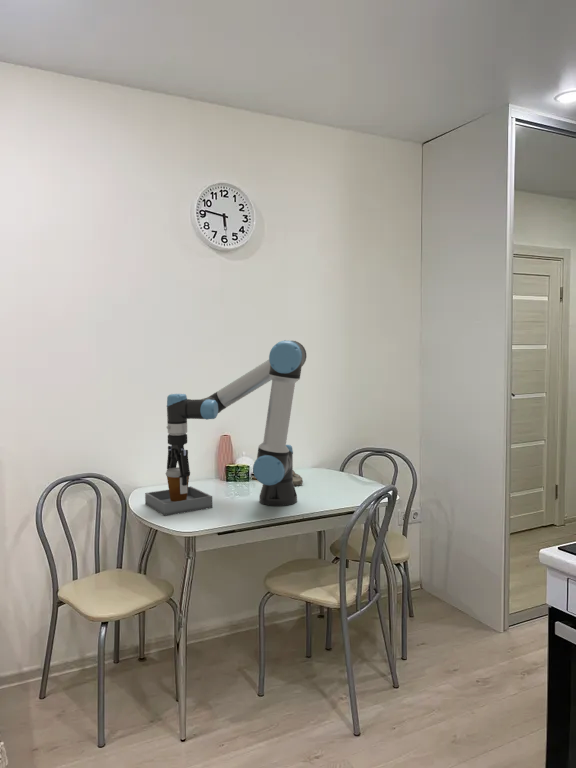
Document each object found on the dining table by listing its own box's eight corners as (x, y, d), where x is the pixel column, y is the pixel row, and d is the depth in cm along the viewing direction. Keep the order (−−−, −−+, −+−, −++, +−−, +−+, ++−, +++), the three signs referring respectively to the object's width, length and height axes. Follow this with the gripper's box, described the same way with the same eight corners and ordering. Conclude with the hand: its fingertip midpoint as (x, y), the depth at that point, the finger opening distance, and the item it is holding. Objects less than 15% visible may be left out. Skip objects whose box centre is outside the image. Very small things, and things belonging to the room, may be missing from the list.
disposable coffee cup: (170, 504, 233) (170, 473, 232) (163, 498, 241) (162, 468, 241) (194, 501, 238) (193, 470, 237) (186, 495, 246) (185, 466, 245)
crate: (212, 507, 237) (212, 496, 237) (164, 515, 226) (164, 503, 226) (191, 497, 253) (190, 486, 253) (145, 504, 242) (145, 492, 242)
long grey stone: (262, 474, 302) (245, 478, 296) (261, 464, 302) (244, 468, 295) (309, 483, 275) (292, 488, 269) (308, 472, 275) (291, 476, 268)
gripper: (157, 431, 245) (158, 486, 246) (179, 438, 226) (181, 498, 228) (175, 429, 249) (176, 484, 251) (198, 436, 231) (199, 495, 232)
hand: (178, 490), depth 239 cm, fingers closed on disposable coffee cup, 9 cm apart
